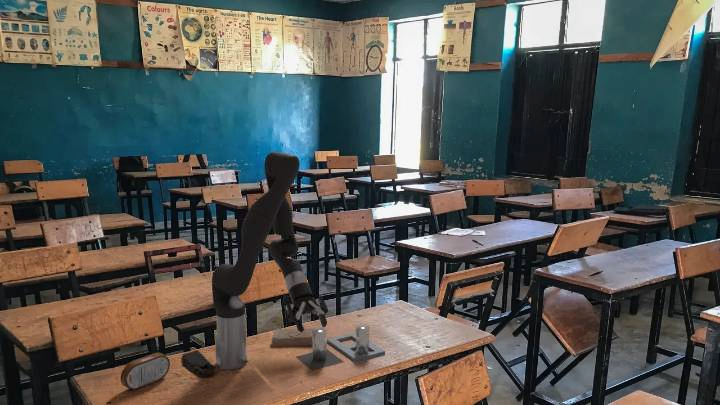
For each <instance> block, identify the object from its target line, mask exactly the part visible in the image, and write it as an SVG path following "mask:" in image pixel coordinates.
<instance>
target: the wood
mask: <svg viewBox="0 0 720 405" xmlns="http://www.w3.org/2000/svg"><path fill="white" fill-rule="evenodd" d="M206 358H207V357H205V355H204V354H202V353H201V352H200V351H199V350H198V349H195V350H193V351H190V352H187V353H186V352H185V353H183V354H182V359H183V362H182V364H181V366H183V367H184V368H185V369H186V370H187V371H188V372H190V373H193V374H194V375H195V376H197V377H198V378H201V379H204V378H210V377H211V378H212V377H213V375H214V371H215V369H216V367H215V365H214V364H212V363H211V362H210V360H208V359H206Z"/></svg>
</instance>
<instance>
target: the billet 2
mask: <svg viewBox="0 0 720 405" xmlns="http://www.w3.org/2000/svg"><path fill="white" fill-rule="evenodd" d="M355 333H356V341H355V343H356V350H355V353H357V354H358V355H362V354H366V353H370V350H369V341H370V326H369V325H365V324H359V325H356V326H355Z"/></svg>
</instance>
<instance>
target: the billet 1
mask: <svg viewBox="0 0 720 405" xmlns="http://www.w3.org/2000/svg"><path fill="white" fill-rule="evenodd" d="M314 328H315V329H313V330H312V345H311V346H312V352H313V361H315V362H324V361H326V349H327V329H326V328H325V327H314Z"/></svg>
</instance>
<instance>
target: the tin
mask: <svg viewBox="0 0 720 405" xmlns="http://www.w3.org/2000/svg"><path fill="white" fill-rule="evenodd" d="M170 364H171V361H170V359H169V357H168V356H167V355H165V354H164V353H162V352H154V353H152V354H149V355H146V356H143V357H140V358H137V359H134V360H132V361H130V362H128V363H127V364H126V365H125V366H124V367H123V369H122V371H121V373H120V383H121V385H122V386H124V387H125V388H126V389H129V390H133V389H134V390H138V389H140V388H139V387H141V388H143V387H145V385H146V386H149V385H150V384H154V383H156V382H158V381H160V380H162V379H164V378H165V377H166V375H167V374H168V373H169V370H170V366H171V365H170ZM142 386H143V387H142ZM137 388H138V389H137Z"/></svg>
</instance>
